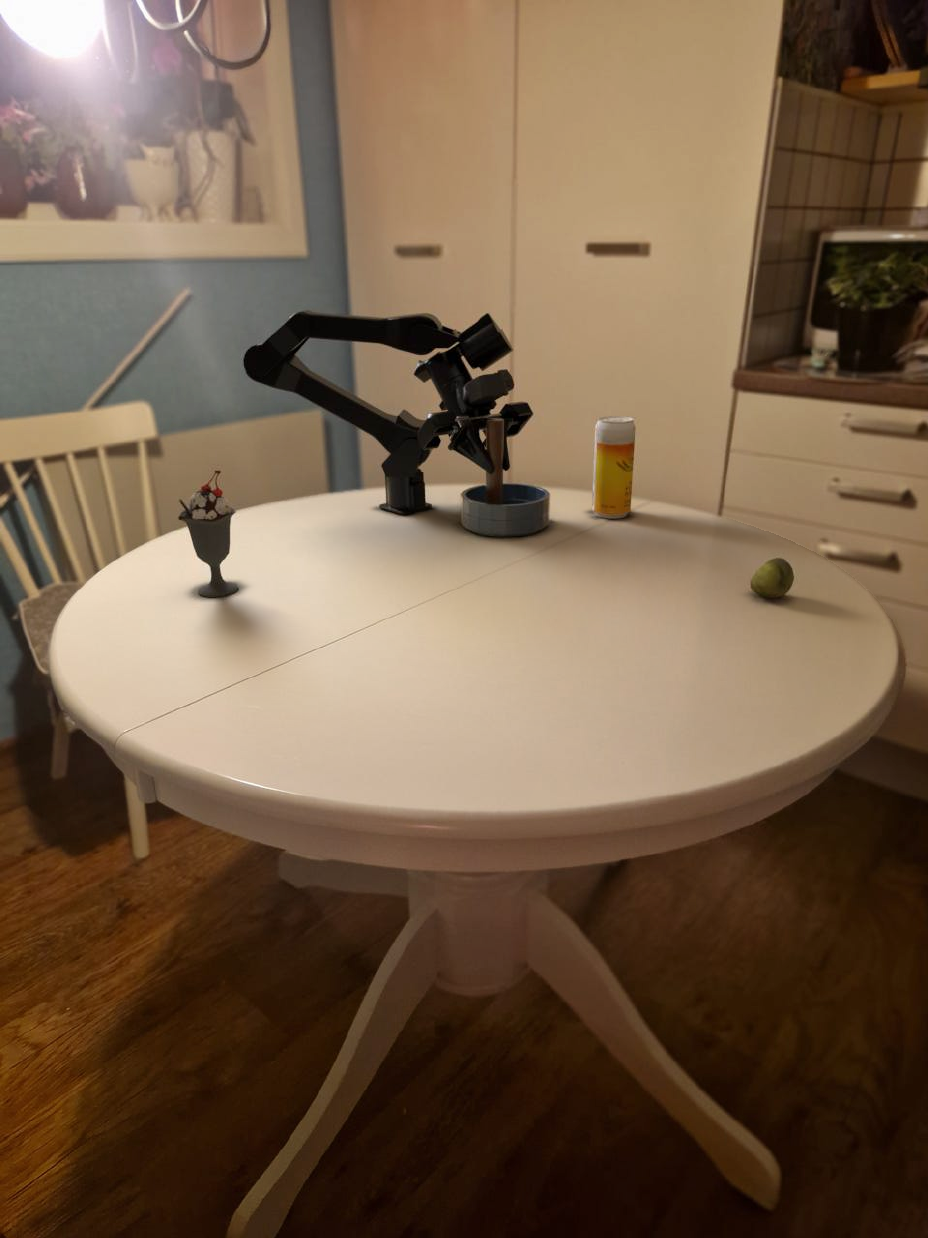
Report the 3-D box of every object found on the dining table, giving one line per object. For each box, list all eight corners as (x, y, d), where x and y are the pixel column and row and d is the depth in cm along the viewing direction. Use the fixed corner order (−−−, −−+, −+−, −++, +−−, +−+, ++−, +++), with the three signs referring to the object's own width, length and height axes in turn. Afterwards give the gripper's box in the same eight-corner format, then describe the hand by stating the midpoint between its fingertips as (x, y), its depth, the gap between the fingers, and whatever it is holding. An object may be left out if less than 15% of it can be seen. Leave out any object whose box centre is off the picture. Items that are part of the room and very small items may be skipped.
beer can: (633, 519, 135) (639, 422, 129) (594, 519, 135) (598, 422, 129) (627, 508, 140) (632, 415, 134) (589, 509, 140) (593, 415, 135)
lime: (746, 600, 103) (750, 560, 101) (758, 588, 106) (763, 549, 104) (784, 607, 100) (790, 567, 98) (795, 594, 104) (801, 555, 102)
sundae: (255, 583, 111) (241, 468, 105) (225, 602, 105) (209, 480, 99) (211, 578, 113) (195, 464, 107) (180, 596, 107) (161, 477, 101)
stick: (473, 517, 133) (474, 419, 128) (493, 512, 136) (494, 415, 130) (494, 523, 130) (495, 423, 125) (514, 517, 133) (516, 419, 127)
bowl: (443, 526, 133) (442, 494, 131) (503, 508, 142) (503, 478, 140) (506, 544, 124) (506, 510, 122) (566, 524, 133) (567, 493, 131)
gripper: (426, 355, 122) (473, 446, 118) (527, 347, 132) (573, 430, 128) (397, 405, 131) (441, 491, 127) (494, 394, 141) (537, 473, 137)
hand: (500, 470), depth 129 cm, fingers closed on stick, 2 cm apart
